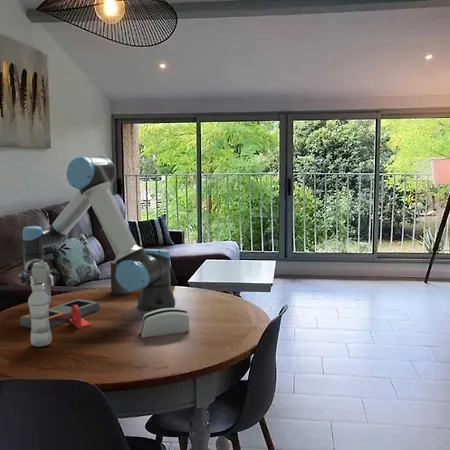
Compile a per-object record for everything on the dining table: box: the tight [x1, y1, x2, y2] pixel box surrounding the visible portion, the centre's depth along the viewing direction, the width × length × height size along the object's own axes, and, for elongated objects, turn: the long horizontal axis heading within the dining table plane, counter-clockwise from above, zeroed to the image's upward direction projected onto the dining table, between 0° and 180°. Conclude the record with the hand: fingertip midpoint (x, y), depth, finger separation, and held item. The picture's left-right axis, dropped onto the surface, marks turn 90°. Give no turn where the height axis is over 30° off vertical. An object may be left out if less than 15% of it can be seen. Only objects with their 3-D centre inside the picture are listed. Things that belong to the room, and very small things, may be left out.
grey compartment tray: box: [19, 298, 100, 329], centre depth 194 cm, size 11×28×3 cm, turn 150°
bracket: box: [68, 305, 91, 329], centre depth 188 cm, size 12×4×8 cm, turn 35°
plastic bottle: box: [27, 283, 53, 348], centre depth 164 cm, size 6×7×20 cm
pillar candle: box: [110, 259, 133, 295], centre depth 231 cm, size 10×10×15 cm
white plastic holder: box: [139, 307, 191, 338], centre depth 175 cm, size 17×5×10 cm, turn 111°
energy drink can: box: [32, 261, 52, 305], centre depth 186 cm, size 6×6×15 cm
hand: (42, 282), depth 181 cm, fingers closed on energy drink can, 6 cm apart
